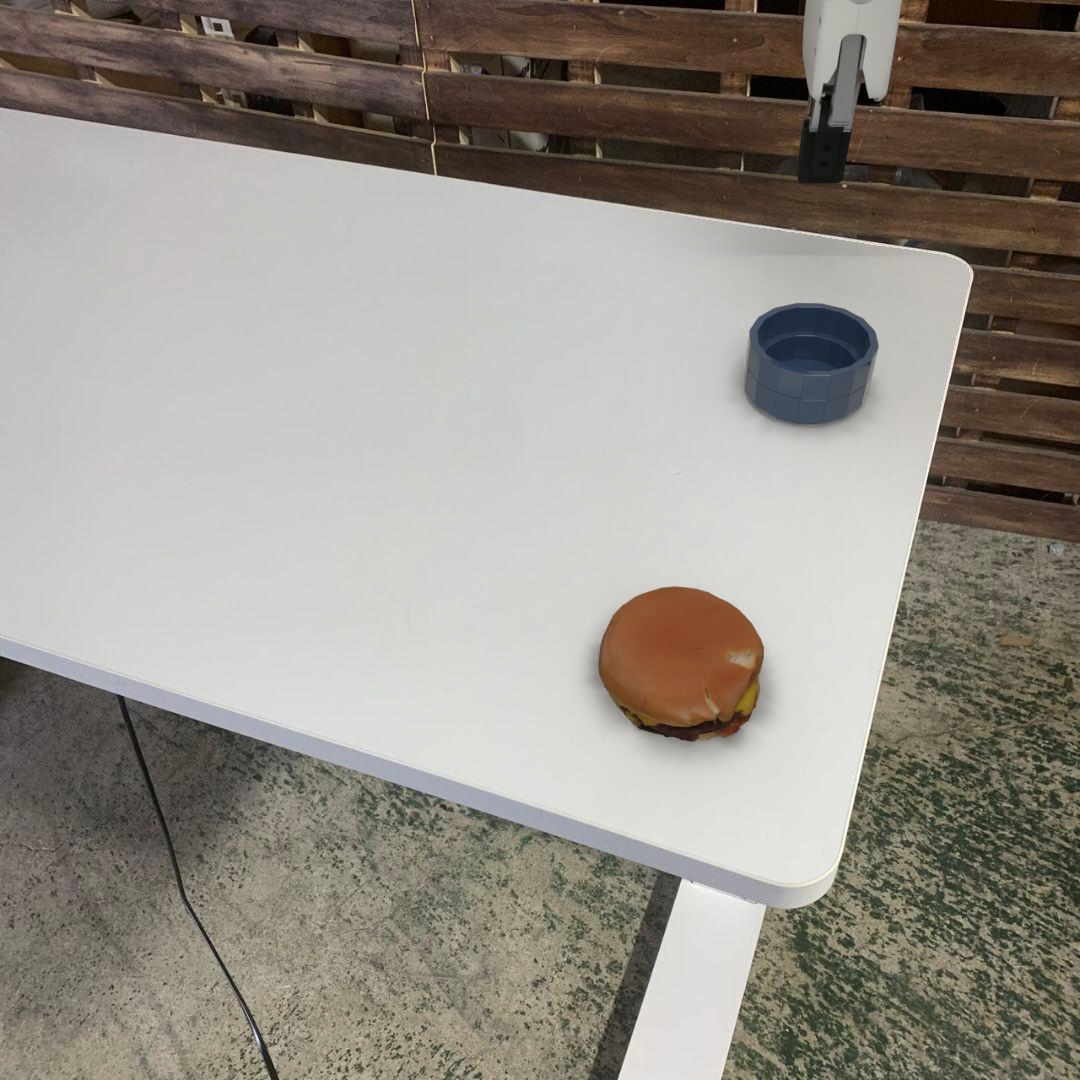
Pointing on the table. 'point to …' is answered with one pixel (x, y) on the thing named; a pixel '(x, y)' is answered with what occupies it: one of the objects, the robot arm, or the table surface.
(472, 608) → the table surface
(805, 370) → the bowl
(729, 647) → the burger
